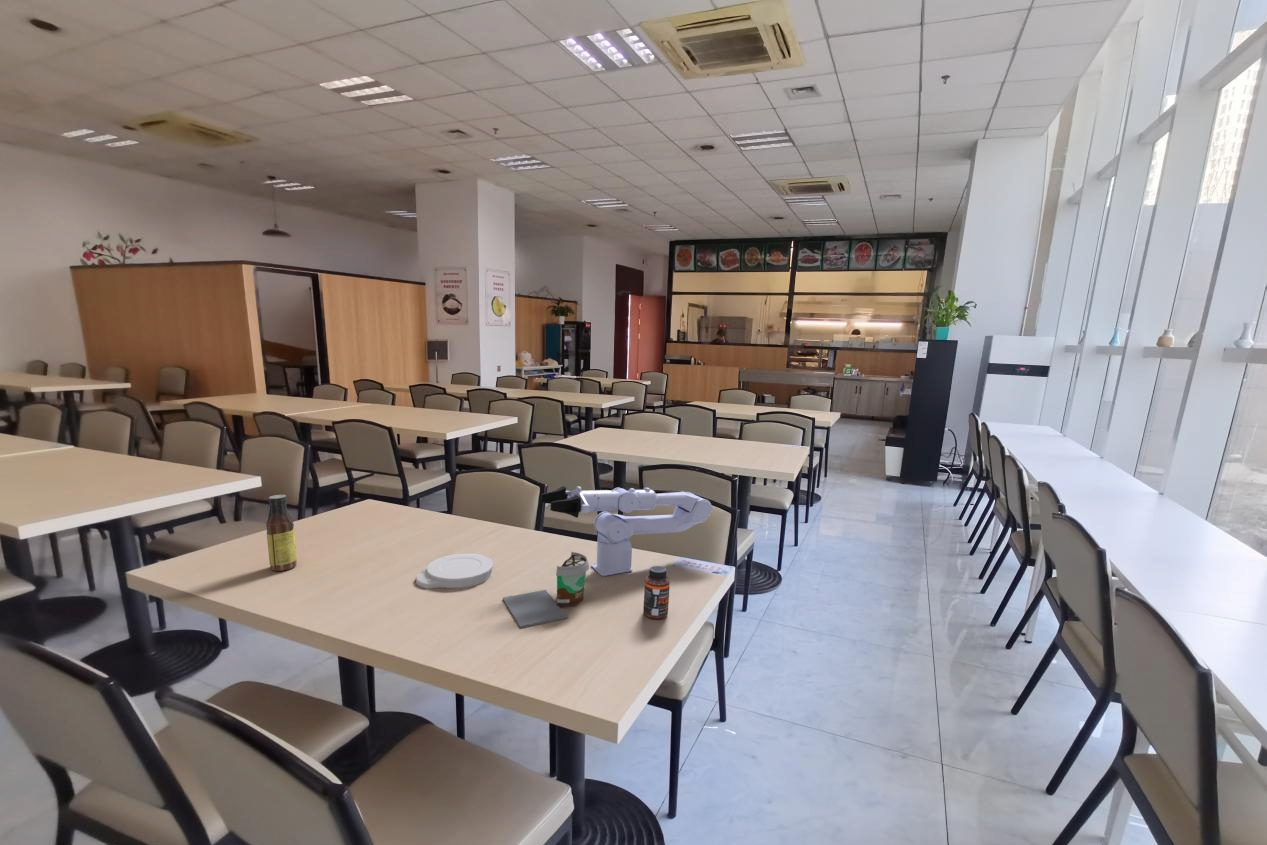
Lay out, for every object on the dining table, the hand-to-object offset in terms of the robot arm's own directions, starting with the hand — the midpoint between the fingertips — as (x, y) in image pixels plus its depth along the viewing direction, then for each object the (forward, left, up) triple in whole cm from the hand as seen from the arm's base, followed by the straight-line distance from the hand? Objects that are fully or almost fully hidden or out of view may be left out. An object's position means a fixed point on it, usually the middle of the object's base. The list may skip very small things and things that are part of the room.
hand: (546, 502), depth 143 cm
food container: (-3, +14, -22) cm, 26 cm away
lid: (+21, -12, -22) cm, 33 cm away
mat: (+7, +14, -22) cm, 27 cm away
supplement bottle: (-18, +28, -22) cm, 40 cm away
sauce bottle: (+62, -35, -22) cm, 74 cm away
